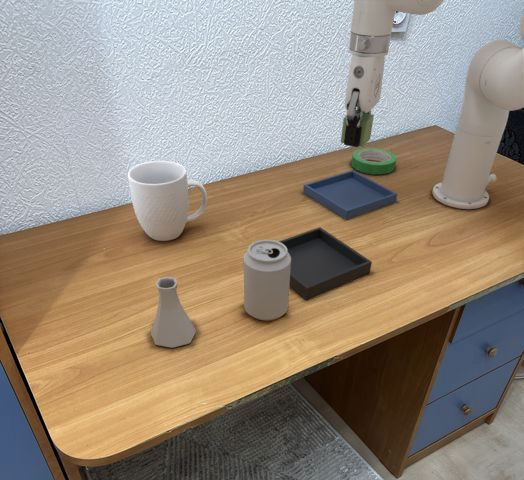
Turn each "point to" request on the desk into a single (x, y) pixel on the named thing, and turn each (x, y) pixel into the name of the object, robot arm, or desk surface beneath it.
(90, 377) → the desk surface
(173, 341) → the flask
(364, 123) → the block
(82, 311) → the desk surface
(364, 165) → the tape roll
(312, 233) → the black shallow box
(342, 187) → the tray
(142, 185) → the mug
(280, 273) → the can
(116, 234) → the desk surface
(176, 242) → the desk surface
